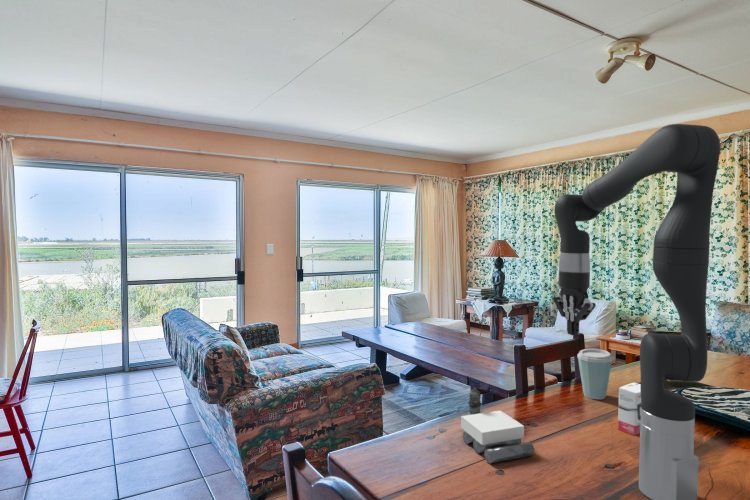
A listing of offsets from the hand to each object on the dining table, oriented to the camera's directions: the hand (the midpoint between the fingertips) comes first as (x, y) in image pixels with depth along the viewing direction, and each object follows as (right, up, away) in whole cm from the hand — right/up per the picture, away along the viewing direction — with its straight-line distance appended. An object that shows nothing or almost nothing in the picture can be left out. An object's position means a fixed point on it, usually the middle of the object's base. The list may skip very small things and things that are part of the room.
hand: (572, 334), depth 116 cm
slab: (-23, -24, -5) cm, 34 cm away
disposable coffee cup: (+20, -26, +29) cm, 44 cm away
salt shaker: (-26, -27, +3) cm, 37 cm away
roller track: (-22, -27, -9) cm, 36 cm away
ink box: (+19, -27, +4) cm, 34 cm away
